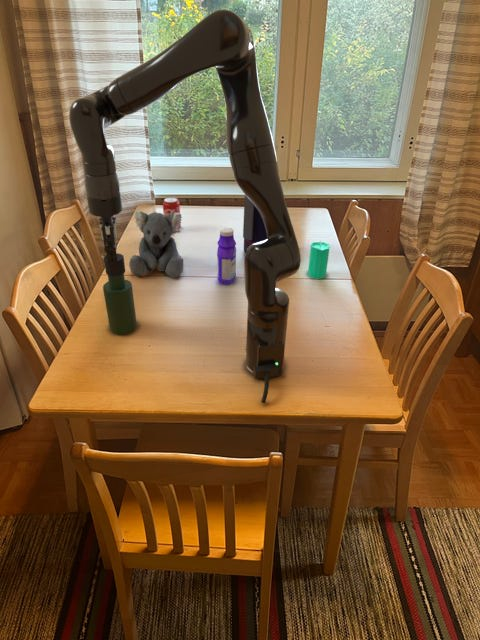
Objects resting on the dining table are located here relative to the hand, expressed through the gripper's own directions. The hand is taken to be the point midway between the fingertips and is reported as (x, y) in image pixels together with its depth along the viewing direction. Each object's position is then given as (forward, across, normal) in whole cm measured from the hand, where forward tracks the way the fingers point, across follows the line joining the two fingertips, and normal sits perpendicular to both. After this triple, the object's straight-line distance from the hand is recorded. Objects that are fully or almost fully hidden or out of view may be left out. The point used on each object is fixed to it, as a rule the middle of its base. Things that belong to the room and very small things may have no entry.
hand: (112, 256), depth 116 cm
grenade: (+21, -36, +48) cm, 64 cm away
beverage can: (+21, -64, +21) cm, 71 cm away
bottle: (+22, -20, +33) cm, 44 cm away
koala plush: (+21, -34, +13) cm, 42 cm away
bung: (+7, 0, 0) cm, 7 cm away
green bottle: (+21, 0, 0) cm, 21 cm away
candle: (+22, -18, +63) cm, 69 cm away
